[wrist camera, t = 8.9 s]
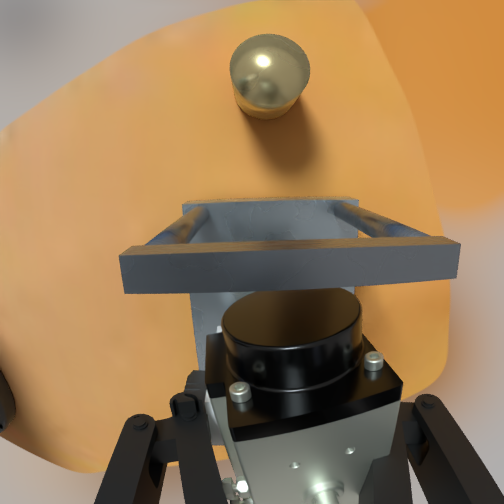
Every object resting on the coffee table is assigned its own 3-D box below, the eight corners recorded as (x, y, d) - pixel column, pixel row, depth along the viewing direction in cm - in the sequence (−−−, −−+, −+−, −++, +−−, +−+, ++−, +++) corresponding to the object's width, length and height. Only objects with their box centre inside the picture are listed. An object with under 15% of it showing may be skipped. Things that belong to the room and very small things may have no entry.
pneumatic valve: (301, 240, 17) (434, 362, 6) (314, 402, 20) (374, 544, 9) (199, 258, 17) (173, 424, 5) (236, 418, 20) (256, 573, 8)
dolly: (210, 397, 24) (191, 539, 11) (191, 199, 20) (100, 252, 7) (330, 391, 24) (374, 525, 11) (343, 195, 20) (473, 240, 7)
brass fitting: (235, 120, 19) (230, 105, 14) (233, 64, 18) (228, 34, 13) (297, 119, 19) (312, 104, 14) (294, 63, 18) (307, 35, 13)
